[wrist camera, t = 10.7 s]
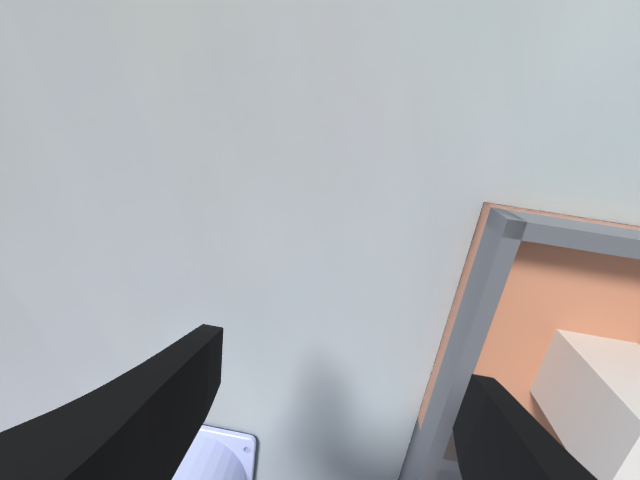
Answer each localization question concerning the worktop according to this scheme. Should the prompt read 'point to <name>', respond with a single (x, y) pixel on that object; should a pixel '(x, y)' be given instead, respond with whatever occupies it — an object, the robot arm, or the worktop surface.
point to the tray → (523, 314)
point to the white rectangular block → (593, 401)
